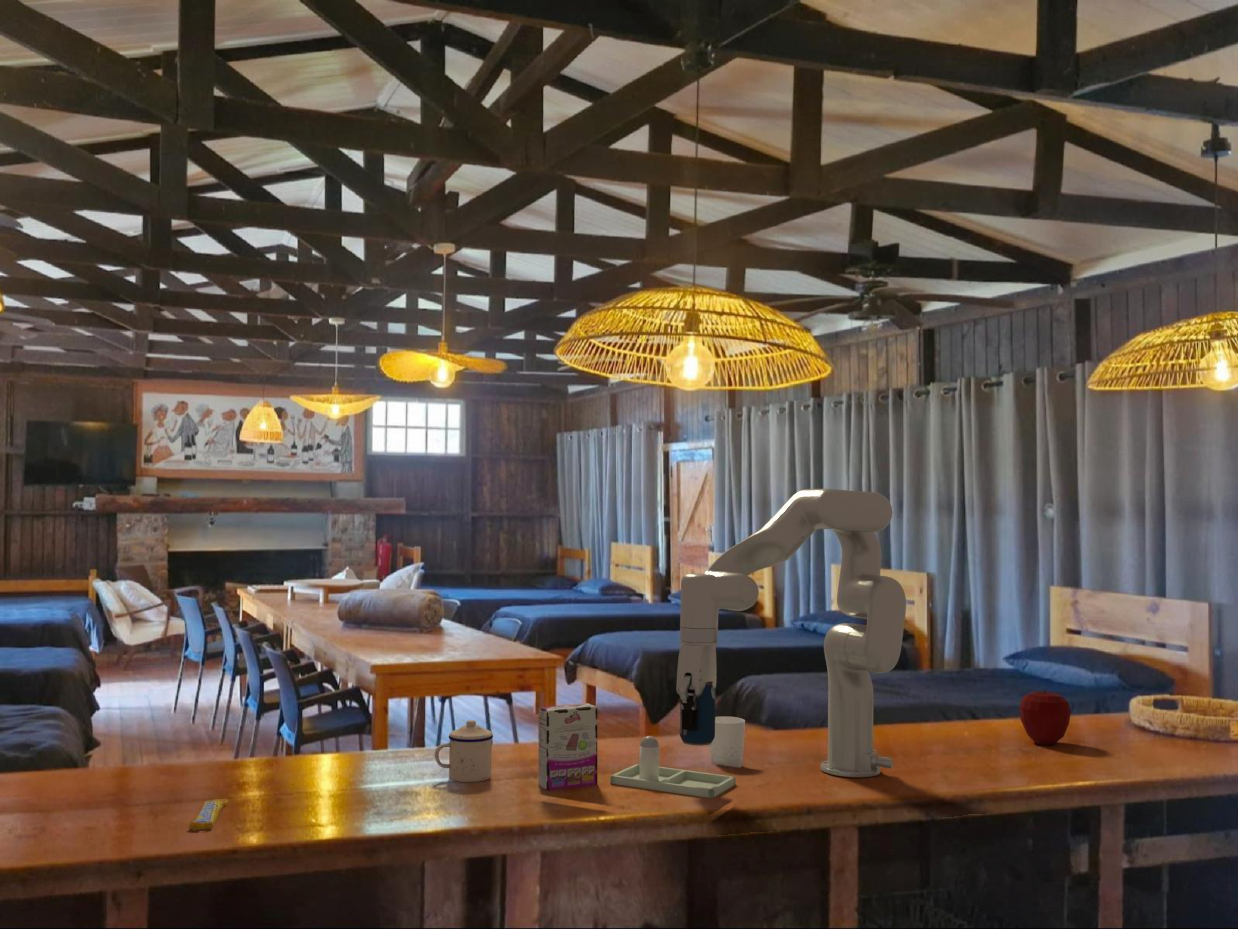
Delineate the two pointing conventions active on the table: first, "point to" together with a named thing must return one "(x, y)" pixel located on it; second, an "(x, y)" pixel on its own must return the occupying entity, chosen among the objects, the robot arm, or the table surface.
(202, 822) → the candy bar
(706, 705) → the soda can
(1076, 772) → the table surface
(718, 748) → the white cup
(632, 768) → the caddy
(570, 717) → the candy bar box
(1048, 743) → the apple
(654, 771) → the shaker
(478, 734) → the teacup with lid
